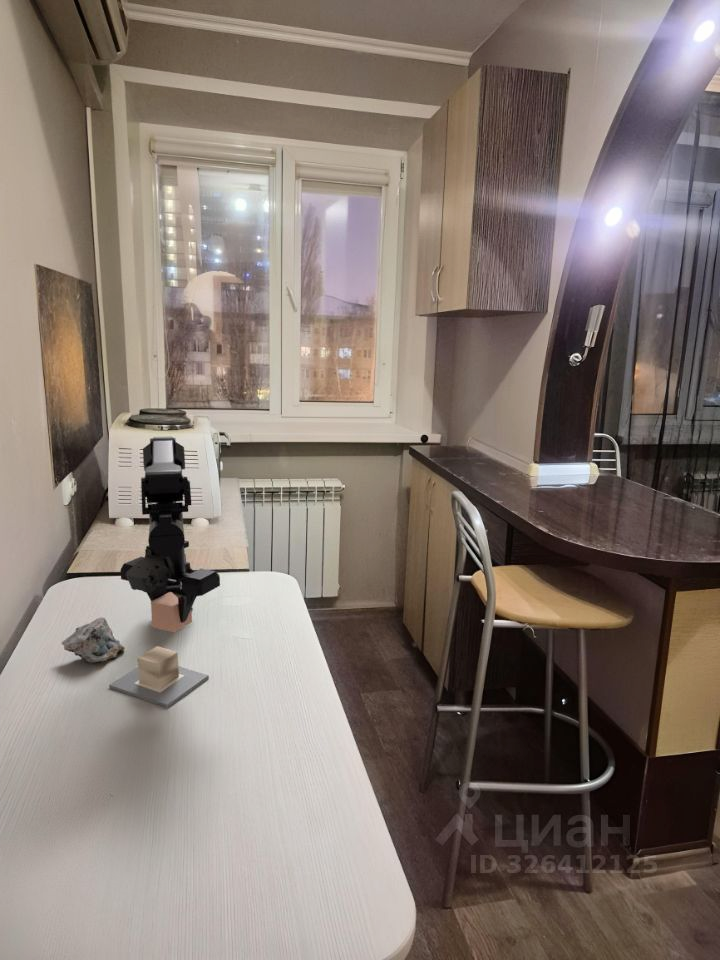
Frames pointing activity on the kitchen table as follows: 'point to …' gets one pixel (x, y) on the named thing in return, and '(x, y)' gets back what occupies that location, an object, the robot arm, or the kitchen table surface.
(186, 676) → the slate board
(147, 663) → the beech cube
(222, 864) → the kitchen table surface
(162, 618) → the terracotta cube
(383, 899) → the kitchen table surface
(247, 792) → the kitchen table surface
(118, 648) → the mineral specimen
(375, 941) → the kitchen table surface
